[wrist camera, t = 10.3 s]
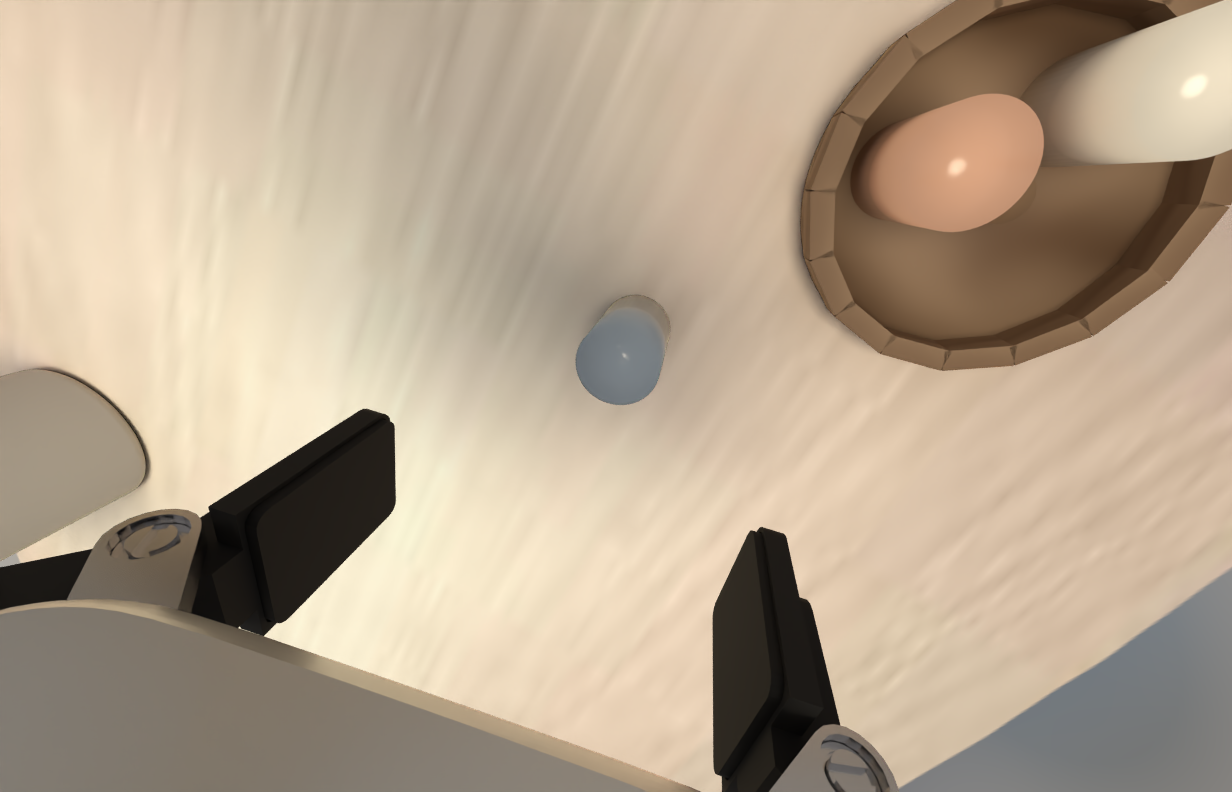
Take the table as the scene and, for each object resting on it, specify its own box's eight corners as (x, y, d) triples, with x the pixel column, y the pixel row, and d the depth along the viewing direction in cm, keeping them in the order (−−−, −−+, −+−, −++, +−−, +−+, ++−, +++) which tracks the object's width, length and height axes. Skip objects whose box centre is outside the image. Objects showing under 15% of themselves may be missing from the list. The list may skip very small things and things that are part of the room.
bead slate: (610, 286, 25) (584, 314, 20) (678, 305, 25) (670, 338, 20) (596, 350, 27) (568, 391, 22) (659, 369, 27) (647, 414, 21)
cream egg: (1052, 39, 17) (1207, -27, 12) (1160, 63, 17) (1368, 7, 12) (989, 154, 19) (1099, 142, 14) (1086, 178, 19) (1236, 175, 13)
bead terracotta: (970, 132, 19) (1074, 111, 13) (920, 229, 21) (994, 245, 15) (876, 109, 19) (941, 79, 14) (834, 207, 21) (877, 215, 16)
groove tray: (895, -57, 17) (921, -91, 15) (1302, 30, 16) (1390, 7, 14) (755, 308, 24) (759, 320, 22) (1035, 385, 23) (1068, 406, 21)
